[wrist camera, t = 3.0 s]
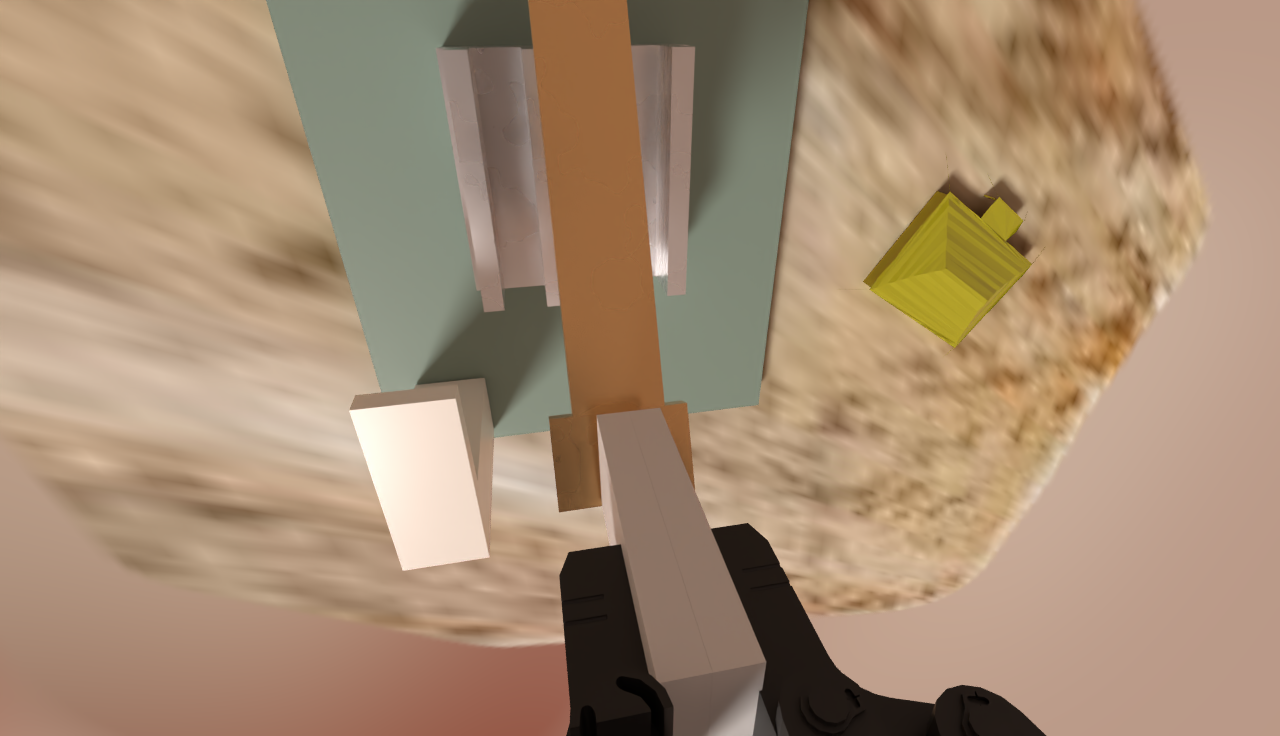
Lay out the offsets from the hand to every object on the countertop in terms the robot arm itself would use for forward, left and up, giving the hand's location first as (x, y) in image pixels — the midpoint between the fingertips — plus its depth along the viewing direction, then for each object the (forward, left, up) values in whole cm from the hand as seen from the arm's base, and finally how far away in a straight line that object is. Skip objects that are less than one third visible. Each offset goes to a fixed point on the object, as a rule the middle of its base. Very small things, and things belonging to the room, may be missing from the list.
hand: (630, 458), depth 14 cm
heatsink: (-4, 0, -12) cm, 13 cm away
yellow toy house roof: (+1, +19, -14) cm, 24 cm away
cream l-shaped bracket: (+4, -6, -12) cm, 14 cm away
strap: (-5, 0, -5) cm, 7 cm away
